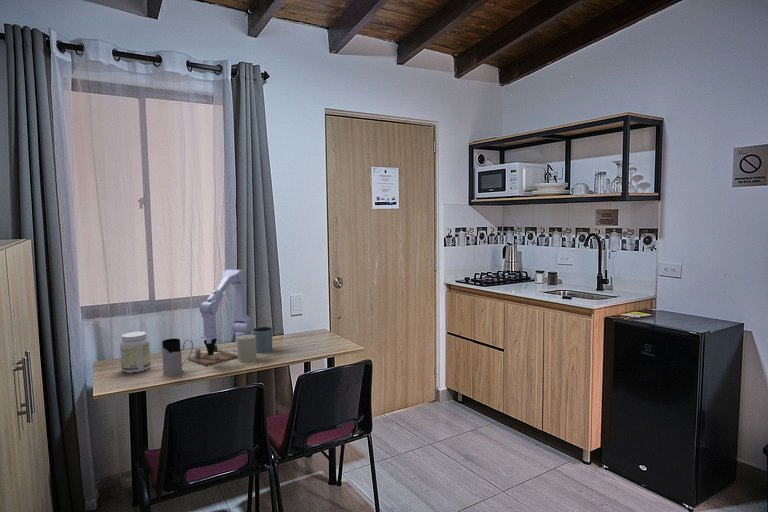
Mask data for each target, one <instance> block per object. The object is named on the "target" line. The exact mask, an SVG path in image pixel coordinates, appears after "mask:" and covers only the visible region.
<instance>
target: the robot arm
mask: <svg viewBox="0 0 768 512" xmlns="http://www.w3.org/2000/svg"><path fill="white" fill-rule="evenodd" d="M246 275H247V273H246V272H245V271H244V269H227V268H226V269H224V271H223V273H222V274H221V276H222V277H221V281H220V283H219V284H218V286H217V288H216V289H213V290H212V291H211V292H210V295H208V298H207V299H206V300H205V301H203V302H202V303H200V306H199V311H200V314H201V318H202V323H203V324H202V327H203V335H202V336H200V339H204V341H203V344H204V345H205V347H206V350H207V351H208V355H213V354H214V347H215V345H216V343H217V341H218V335H217V318H216V317H217V316H216V314H217V312H218V310H219V306H220V303H221V301H222V299H223V298H224V293H225V291H226V290H227V289H228V287H229V286H230V285H232V286H233V287H234V298H235V299H234V300H235V302H234V304H235V316H234V317H233V318H232V320H231V321H232V323H231V328H230V329H231V331H232V332H233V334H234V335H235V348H233V349H232V351H234V350H235V352H238V349H237V337H238V336H241V335H253V329H254V325H253V321H252V318H251V317H250V316H249V315H248V314H247V300H246V299H247V297H246V296H247V295H246V284H247V277H246Z"/></svg>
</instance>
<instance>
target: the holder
mask: <svg viewBox="0 0 768 512" xmlns="http://www.w3.org/2000/svg"><path fill="white" fill-rule="evenodd" d="M186 342H190V343H191V349H190V353H189V354H188V356H187V357H186V358H185V359H184V360H183V359H182V351H184V350H185V344H186ZM161 343H162V344H161V353H162V368H163V369H162V371H163V372H162V376H164V375H166V376H165V377H173V376H178V375H180V373H181V374H182V372H183V373H184V370H183V365H184V363H185V362H186V361H188V358H190V356H191V355H192V352H193V349H194V342H193V341H192V340H190V339H186V340H184V341H183V344H182V349H181V340H180V338H167V339H163V340H162V341H161ZM182 360H183V361H182ZM177 374H178V375H177ZM172 375H173V376H172Z"/></svg>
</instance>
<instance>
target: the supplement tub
mask: <svg viewBox="0 0 768 512" xmlns="http://www.w3.org/2000/svg"><path fill="white" fill-rule="evenodd" d="M147 337H148V335H147V332H146V331H133V332H127V333H124V334H122V335H121V342H120V343H119V349H120V350H119V351H120V360H121V371H122V372H123V371H124V373H126V372H127V374H133V373H132V372H136V373H140V371H141V372H144V370H145V371H147V370H148V369H150V368H151V365H152V364H151V351H150V340H149V338H147Z"/></svg>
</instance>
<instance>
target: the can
mask: <svg viewBox="0 0 768 512" xmlns="http://www.w3.org/2000/svg"><path fill="white" fill-rule="evenodd" d="M237 349H238V351H237V355H238V358H237V362H238V361H240V362H239V363H250V362H249V361H252V362H255V361H257V360H256V359H258V357H257V353H256V336H255V335H241V336H238V337H237ZM254 360H255V361H254Z"/></svg>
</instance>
